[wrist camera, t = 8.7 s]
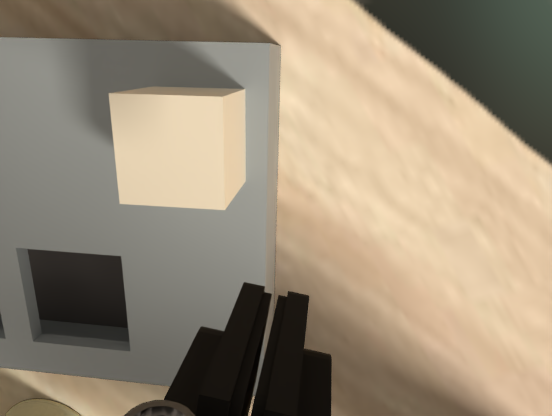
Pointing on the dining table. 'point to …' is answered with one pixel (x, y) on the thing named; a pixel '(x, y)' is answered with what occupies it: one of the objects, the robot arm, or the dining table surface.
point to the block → (179, 146)
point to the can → (40, 409)
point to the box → (122, 210)
